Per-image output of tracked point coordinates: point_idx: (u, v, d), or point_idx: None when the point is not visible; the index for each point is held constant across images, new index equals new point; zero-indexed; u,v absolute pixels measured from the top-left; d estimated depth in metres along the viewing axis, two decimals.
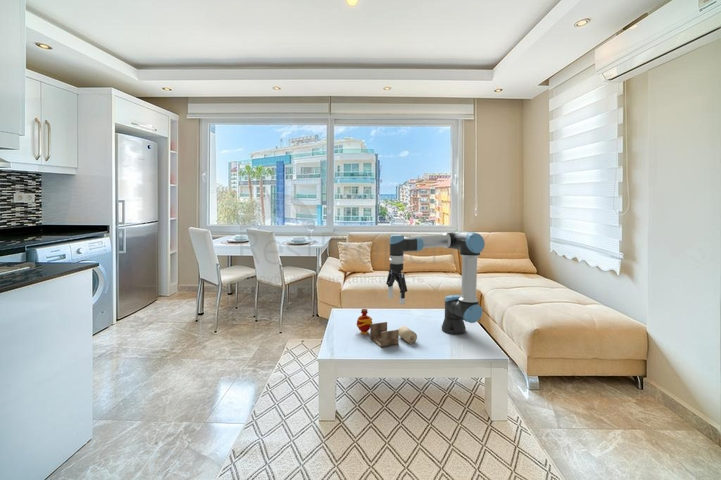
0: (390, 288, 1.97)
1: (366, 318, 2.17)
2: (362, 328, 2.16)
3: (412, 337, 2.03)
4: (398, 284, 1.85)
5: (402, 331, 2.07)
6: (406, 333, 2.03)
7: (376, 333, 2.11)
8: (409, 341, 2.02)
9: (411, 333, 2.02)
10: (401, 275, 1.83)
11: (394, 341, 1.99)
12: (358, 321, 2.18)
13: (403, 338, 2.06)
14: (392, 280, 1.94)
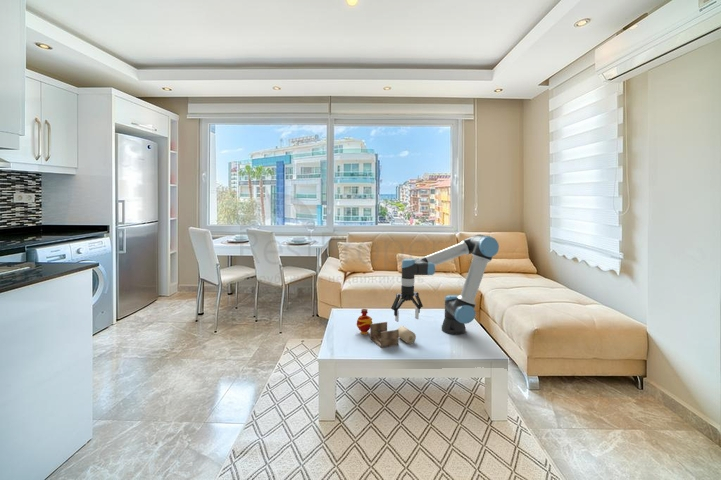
0: (416, 309, 2.09)
1: (366, 318, 2.17)
2: (362, 328, 2.16)
3: (411, 337, 2.02)
4: None
5: (400, 332, 2.07)
6: (404, 334, 2.03)
7: (376, 333, 2.11)
8: (409, 342, 2.02)
9: (409, 334, 2.02)
10: (396, 295, 2.04)
11: (394, 341, 1.99)
12: (358, 321, 2.18)
13: (402, 339, 2.06)
14: (412, 301, 2.08)
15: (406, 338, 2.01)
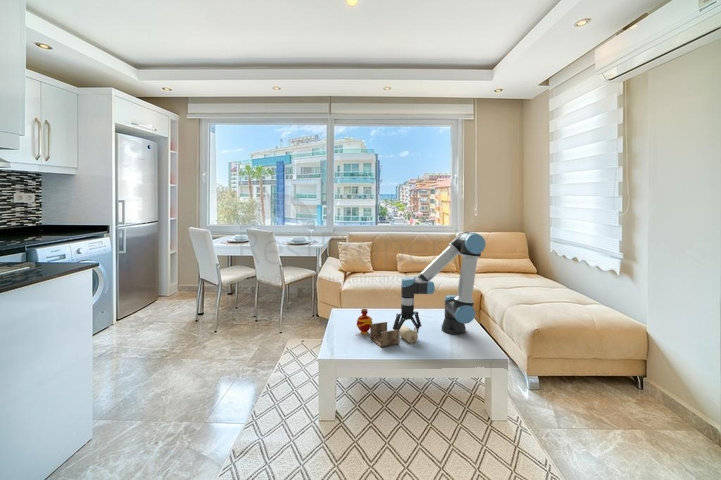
0: (414, 329, 2.10)
1: (366, 318, 2.17)
2: (362, 328, 2.16)
3: (413, 337, 2.03)
4: None
5: (403, 330, 2.08)
6: (407, 332, 2.04)
7: (376, 333, 2.11)
8: (410, 341, 2.03)
9: (412, 333, 2.03)
10: (396, 315, 2.05)
11: (394, 341, 1.99)
12: (358, 321, 2.18)
13: (404, 337, 2.06)
14: (412, 320, 2.09)
15: (408, 336, 2.02)
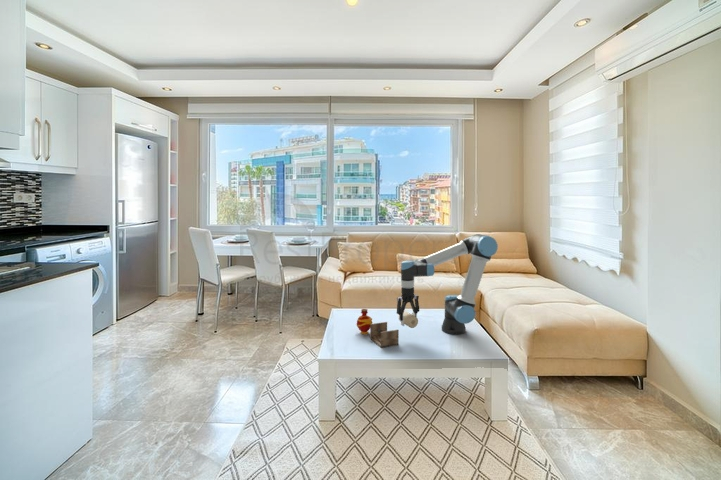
0: (412, 314, 2.08)
1: (366, 318, 2.17)
2: (362, 328, 2.16)
3: (413, 321, 2.02)
4: None
5: None
6: (407, 317, 2.03)
7: (376, 333, 2.11)
8: (410, 325, 2.02)
9: (412, 317, 2.02)
10: (397, 299, 2.04)
11: (394, 341, 1.99)
12: (358, 321, 2.18)
13: (404, 322, 2.05)
14: (411, 304, 2.07)
15: (409, 321, 2.01)
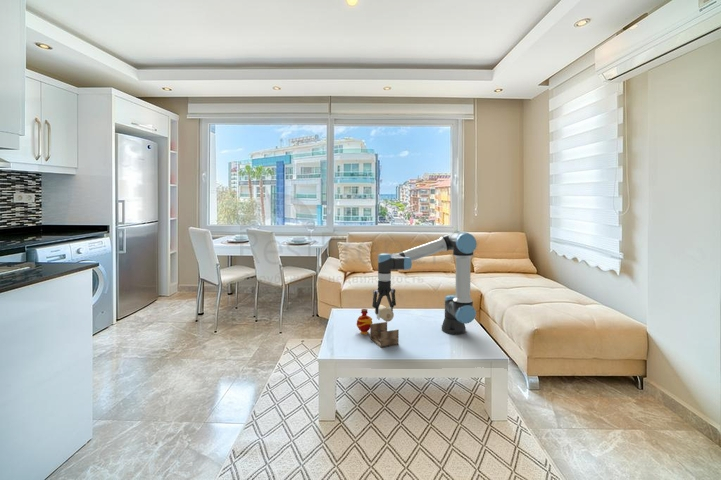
0: (389, 308, 2.06)
1: (366, 318, 2.17)
2: (362, 328, 2.16)
3: (388, 315, 1.99)
4: None
5: None
6: (383, 311, 2.00)
7: (376, 333, 2.11)
8: (385, 319, 1.99)
9: (388, 311, 1.99)
10: (373, 292, 2.01)
11: (394, 341, 1.99)
12: (358, 321, 2.18)
13: None
14: (387, 298, 2.05)
15: (384, 314, 1.98)
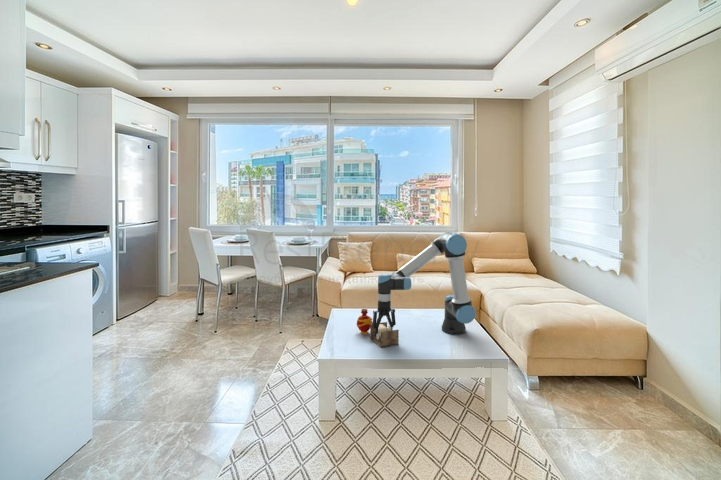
0: (389, 327, 2.07)
1: (366, 318, 2.17)
2: (362, 328, 2.16)
3: None
4: None
5: None
6: (382, 331, 2.01)
7: None
8: None
9: None
10: (373, 312, 2.02)
11: (394, 341, 1.99)
12: (358, 321, 2.18)
13: None
14: (387, 318, 2.06)
15: None
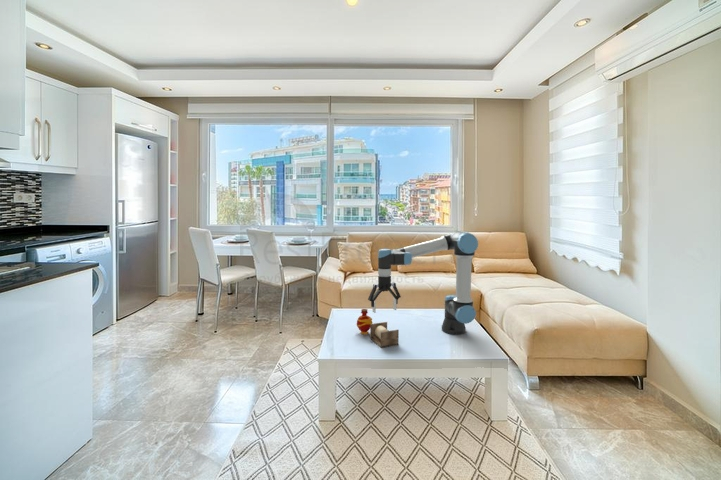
0: (394, 300, 2.06)
1: (366, 318, 2.17)
2: (362, 328, 2.16)
3: None
4: None
5: (379, 330, 2.05)
6: None
7: None
8: None
9: None
10: (373, 285, 2.01)
11: (394, 341, 1.99)
12: (358, 321, 2.18)
13: (379, 337, 2.03)
14: (390, 292, 2.05)
15: None
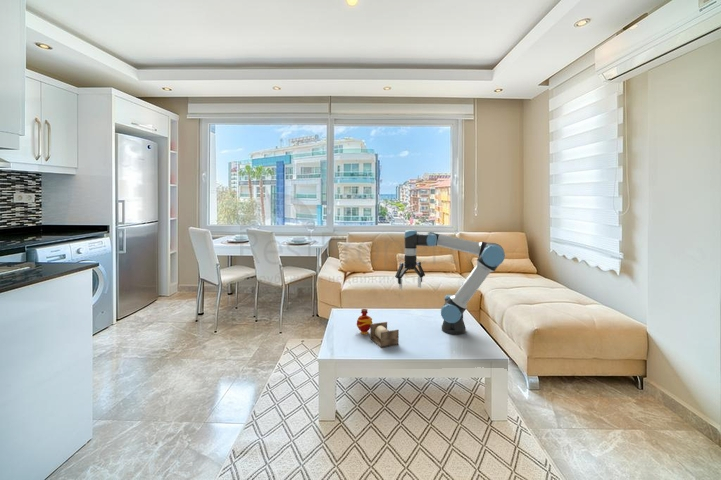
0: (418, 278, 2.21)
1: (366, 318, 2.17)
2: (362, 328, 2.16)
3: None
4: None
5: (379, 330, 2.05)
6: None
7: None
8: None
9: None
10: (400, 264, 2.15)
11: (394, 341, 1.99)
12: (358, 321, 2.18)
13: (379, 337, 2.03)
14: (415, 270, 2.20)
15: None
